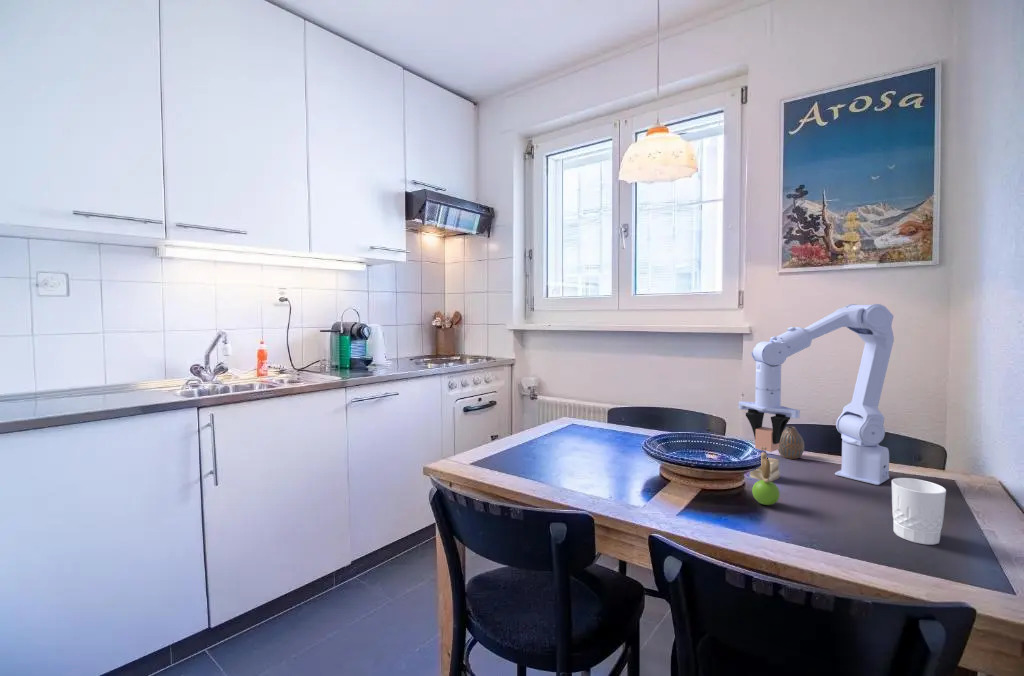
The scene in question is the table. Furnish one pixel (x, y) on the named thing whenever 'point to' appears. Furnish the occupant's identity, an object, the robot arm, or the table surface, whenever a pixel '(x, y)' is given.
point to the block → (765, 439)
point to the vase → (791, 443)
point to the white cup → (918, 510)
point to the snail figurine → (765, 484)
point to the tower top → (772, 465)
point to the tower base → (758, 475)
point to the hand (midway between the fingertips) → (767, 441)
